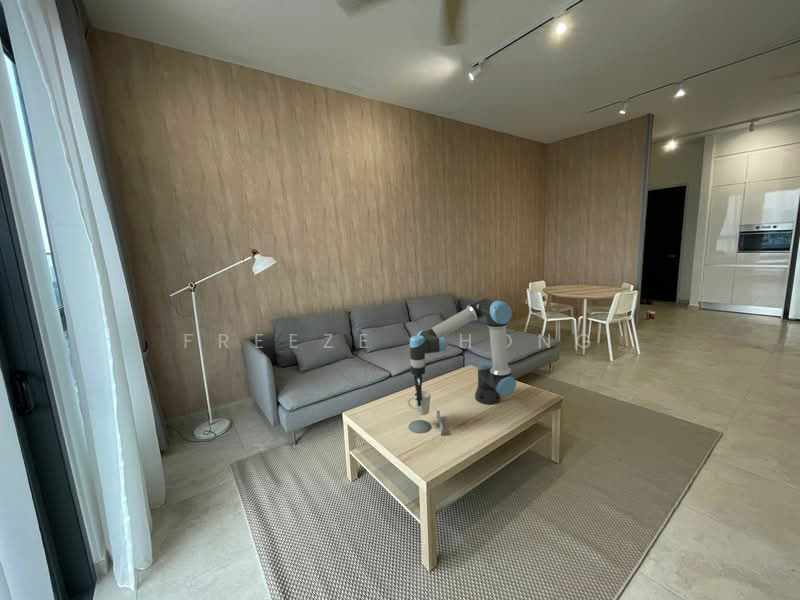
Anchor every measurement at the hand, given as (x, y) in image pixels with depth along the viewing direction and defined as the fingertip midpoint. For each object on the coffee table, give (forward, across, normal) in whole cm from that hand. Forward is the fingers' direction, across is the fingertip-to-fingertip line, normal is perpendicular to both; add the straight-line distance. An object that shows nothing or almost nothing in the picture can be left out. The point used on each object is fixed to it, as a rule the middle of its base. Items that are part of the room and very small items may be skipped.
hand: (418, 406), depth 167 cm
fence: (+12, 0, +11) cm, 16 cm away
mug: (+3, 0, 0) cm, 3 cm away
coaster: (+12, 0, 0) cm, 12 cm away
